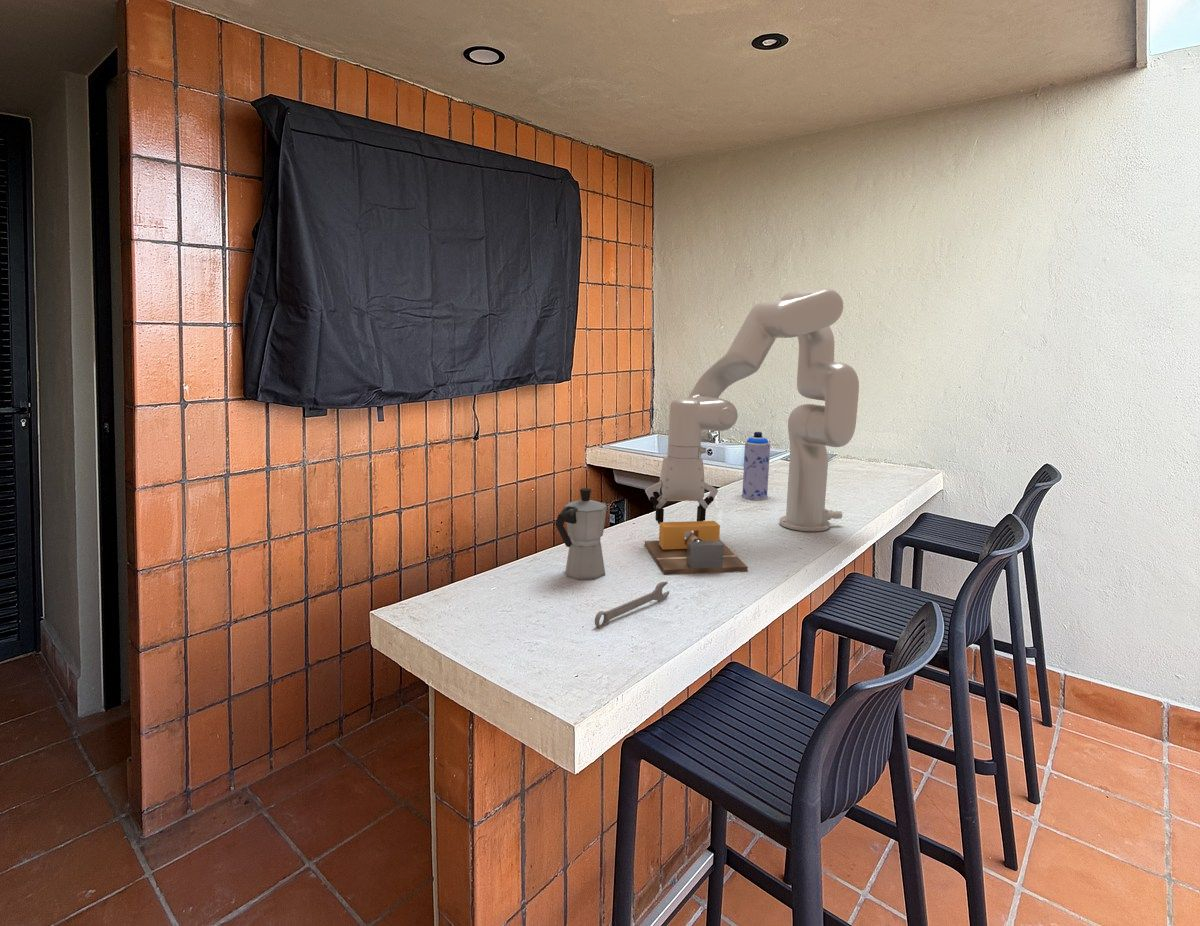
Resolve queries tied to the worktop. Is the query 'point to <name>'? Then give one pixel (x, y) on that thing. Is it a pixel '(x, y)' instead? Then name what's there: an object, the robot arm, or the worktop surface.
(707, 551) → the grey block with rod
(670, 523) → the collar
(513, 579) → the worktop surface
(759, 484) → the aerosol can
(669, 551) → the pipe board
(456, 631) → the worktop surface
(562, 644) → the worktop surface
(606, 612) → the combination wrench
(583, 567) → the coffee maker
